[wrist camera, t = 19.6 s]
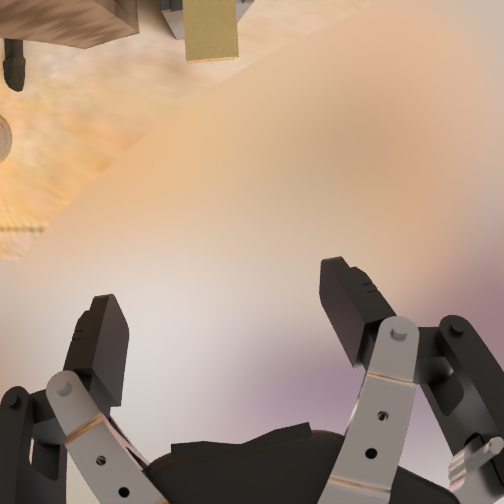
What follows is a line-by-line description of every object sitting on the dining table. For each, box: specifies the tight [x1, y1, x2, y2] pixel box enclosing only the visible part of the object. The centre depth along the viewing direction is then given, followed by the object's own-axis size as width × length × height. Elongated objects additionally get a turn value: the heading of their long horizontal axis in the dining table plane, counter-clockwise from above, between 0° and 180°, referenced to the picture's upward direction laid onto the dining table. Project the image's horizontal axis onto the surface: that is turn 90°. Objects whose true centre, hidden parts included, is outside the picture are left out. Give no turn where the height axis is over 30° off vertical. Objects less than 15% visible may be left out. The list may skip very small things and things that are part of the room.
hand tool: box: [3, 38, 25, 92], centre depth 27 cm, size 19×4×5 cm, turn 1°
